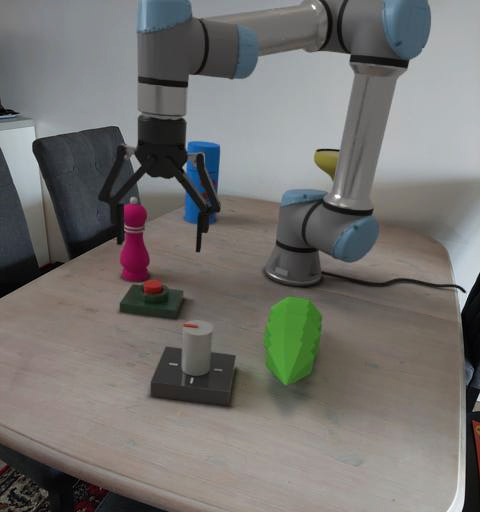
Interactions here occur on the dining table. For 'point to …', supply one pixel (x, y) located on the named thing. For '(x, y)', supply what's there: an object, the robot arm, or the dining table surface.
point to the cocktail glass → (327, 160)
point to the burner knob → (196, 347)
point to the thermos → (213, 170)
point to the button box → (152, 302)
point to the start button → (152, 287)
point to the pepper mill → (134, 243)
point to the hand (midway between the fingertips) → (159, 246)
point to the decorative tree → (292, 339)
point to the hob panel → (193, 379)
